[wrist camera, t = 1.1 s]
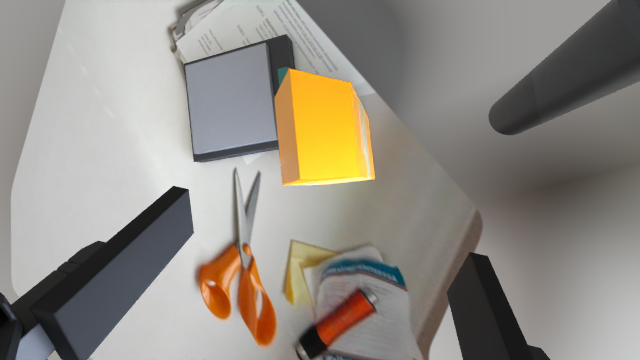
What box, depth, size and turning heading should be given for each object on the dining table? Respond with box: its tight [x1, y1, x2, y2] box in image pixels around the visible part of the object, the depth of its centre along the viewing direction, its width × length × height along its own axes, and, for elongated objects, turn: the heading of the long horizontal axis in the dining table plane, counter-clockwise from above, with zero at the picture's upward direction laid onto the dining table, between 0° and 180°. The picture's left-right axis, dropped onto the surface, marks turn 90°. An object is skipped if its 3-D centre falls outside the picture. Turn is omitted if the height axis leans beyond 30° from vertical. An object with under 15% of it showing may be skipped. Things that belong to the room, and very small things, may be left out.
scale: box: [184, 34, 295, 162], centre depth 44 cm, size 18×16×3 cm
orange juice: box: [274, 68, 375, 185], centre depth 31 cm, size 8×9×20 cm
